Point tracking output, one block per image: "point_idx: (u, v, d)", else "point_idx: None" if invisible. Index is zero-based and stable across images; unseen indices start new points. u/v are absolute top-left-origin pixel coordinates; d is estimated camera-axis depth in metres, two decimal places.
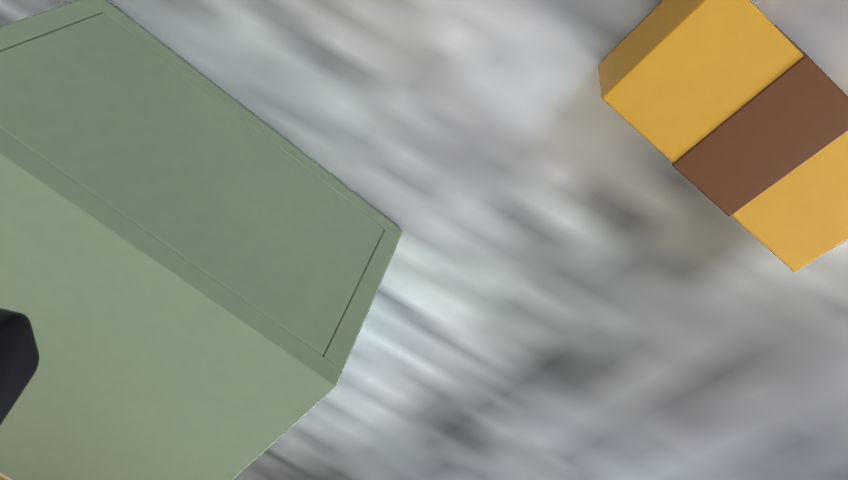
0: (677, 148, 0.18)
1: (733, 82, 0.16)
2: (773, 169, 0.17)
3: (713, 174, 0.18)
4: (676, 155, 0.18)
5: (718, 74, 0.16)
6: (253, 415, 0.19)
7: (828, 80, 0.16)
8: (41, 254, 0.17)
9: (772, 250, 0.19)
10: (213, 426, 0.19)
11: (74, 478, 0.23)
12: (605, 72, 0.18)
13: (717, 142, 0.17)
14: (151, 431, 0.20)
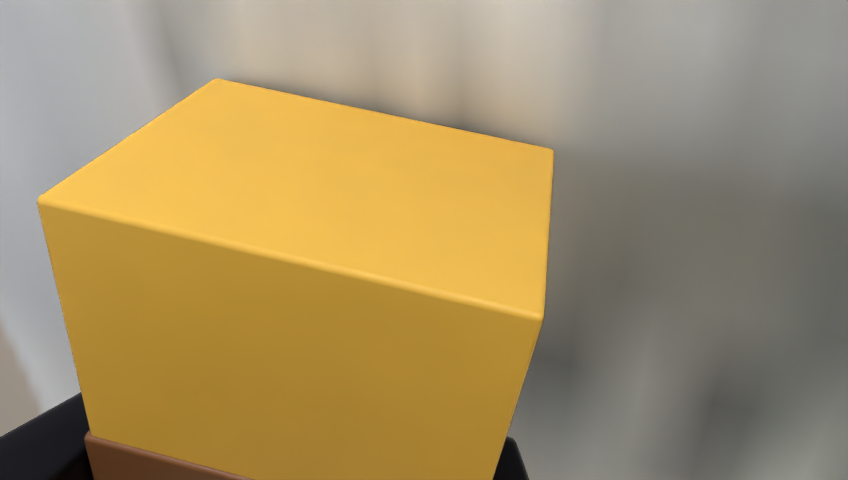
0: None
1: None
2: None
3: None
4: None
5: None
6: None
7: None
8: None
9: (506, 414, 0.05)
10: None
11: None
12: None
13: None
14: None
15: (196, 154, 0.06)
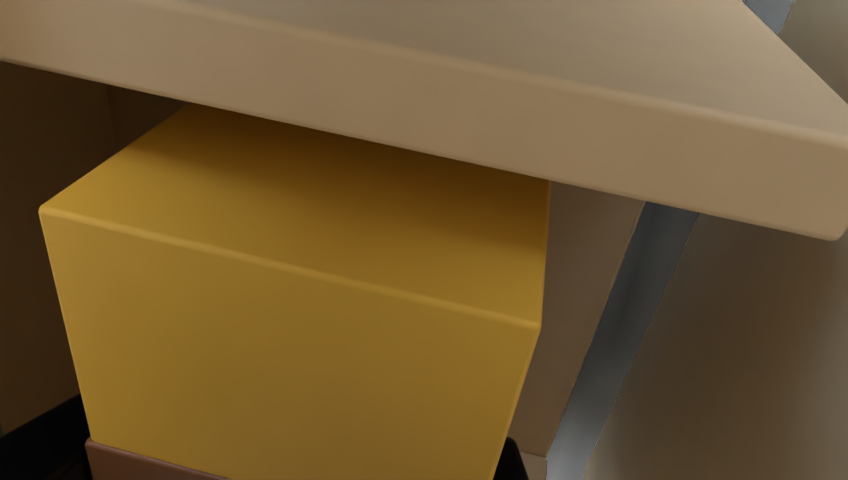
0: None
1: None
2: None
3: None
4: None
5: None
6: None
7: None
8: None
9: (504, 421, 0.05)
10: None
11: None
12: None
13: None
14: None
15: (196, 162, 0.06)
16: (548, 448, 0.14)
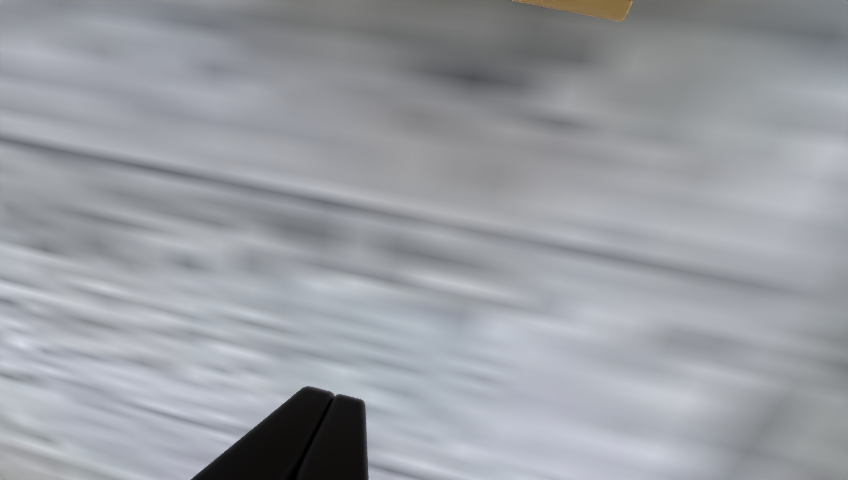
0: None
1: None
2: None
3: None
4: None
5: None
6: None
7: None
8: None
9: None
10: None
11: None
12: None
13: None
14: None
15: None
16: None
